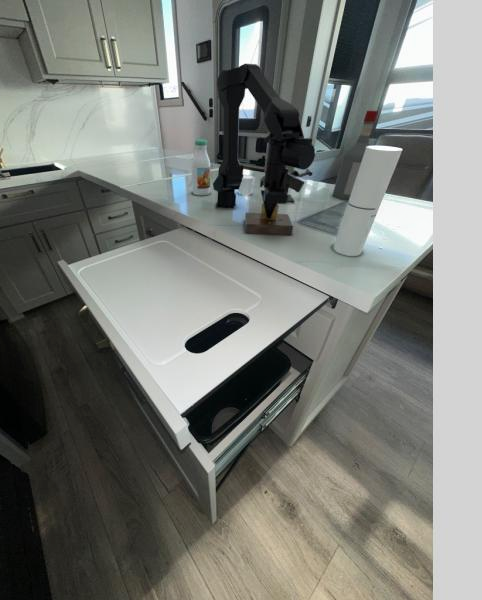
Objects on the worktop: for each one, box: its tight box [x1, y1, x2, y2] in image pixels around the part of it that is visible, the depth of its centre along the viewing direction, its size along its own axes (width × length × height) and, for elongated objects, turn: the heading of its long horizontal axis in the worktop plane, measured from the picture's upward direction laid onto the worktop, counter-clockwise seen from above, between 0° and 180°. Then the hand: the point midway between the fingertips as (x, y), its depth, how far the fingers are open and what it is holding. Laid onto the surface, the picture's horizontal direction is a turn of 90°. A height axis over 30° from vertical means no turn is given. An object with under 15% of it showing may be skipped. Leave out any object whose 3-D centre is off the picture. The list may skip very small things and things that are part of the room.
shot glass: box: [238, 174, 256, 196], centre depth 113 cm, size 7×7×7 cm
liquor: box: [332, 110, 379, 202], centre depth 103 cm, size 9×9×30 cm
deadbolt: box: [260, 202, 280, 220], centre depth 83 cm, size 5×1×5 cm, turn 85°
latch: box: [299, 168, 313, 178], centre depth 103 cm, size 12×5×2 cm, turn 86°
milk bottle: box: [191, 139, 211, 196], centre depth 109 cm, size 8×8×20 cm
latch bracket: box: [280, 186, 295, 204], centre depth 106 cm, size 10×8×9 cm
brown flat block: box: [244, 212, 294, 236], centre depth 85 cm, size 14×10×3 cm
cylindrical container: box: [333, 145, 403, 257], centre depth 66 cm, size 7×7×25 cm
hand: (268, 217), depth 84 cm, fingers closed on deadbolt
